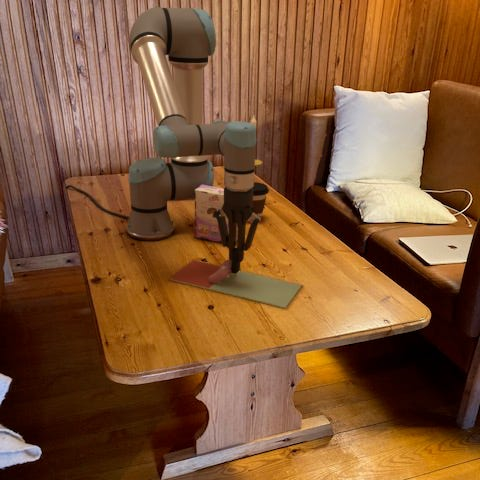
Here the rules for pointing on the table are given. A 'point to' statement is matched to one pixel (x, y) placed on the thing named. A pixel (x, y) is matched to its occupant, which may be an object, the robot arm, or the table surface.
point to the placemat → (239, 284)
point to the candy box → (208, 212)
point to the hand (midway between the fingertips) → (235, 271)
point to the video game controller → (221, 272)
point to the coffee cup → (259, 198)
